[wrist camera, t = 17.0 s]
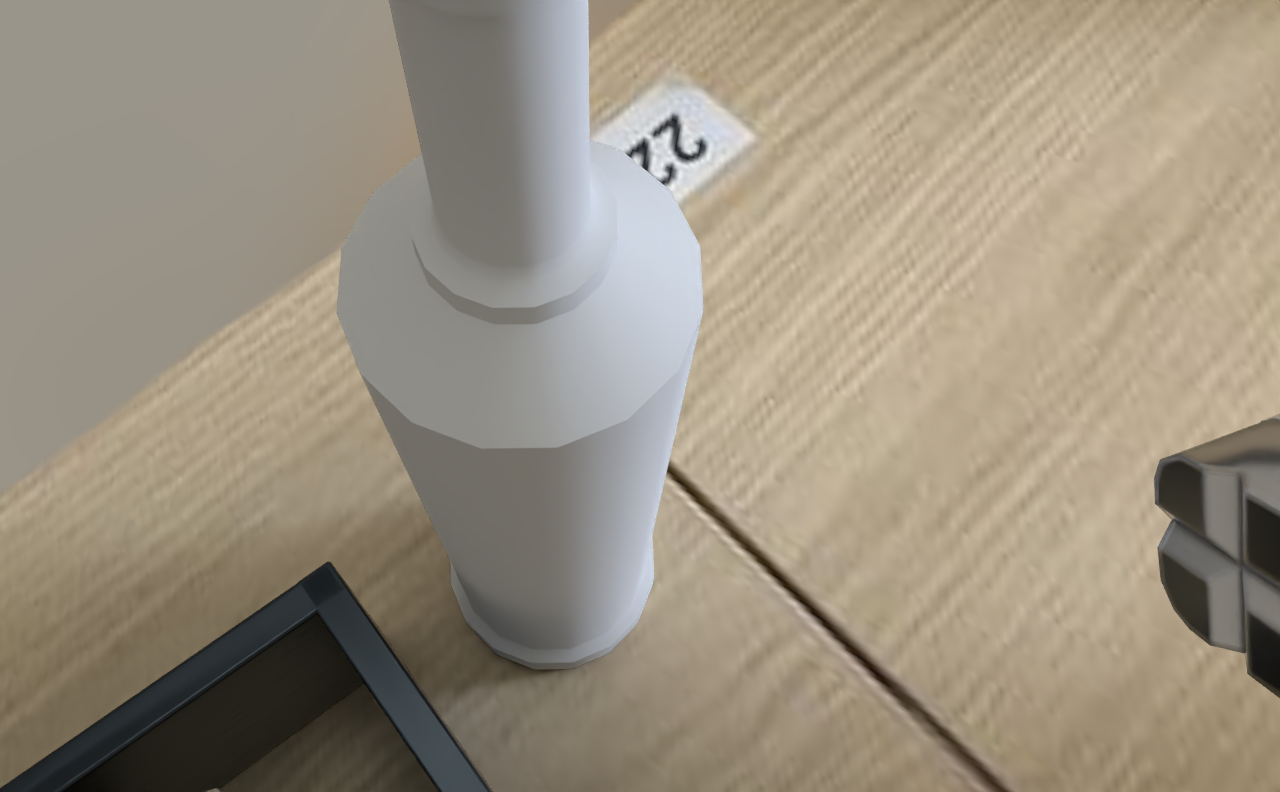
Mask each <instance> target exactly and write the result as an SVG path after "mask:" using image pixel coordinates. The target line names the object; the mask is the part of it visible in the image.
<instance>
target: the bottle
mask: <svg viewBox="0 0 1280 792" xmlns="http://www.w3.org/2000/svg"><path fill="white" fill-rule="evenodd" d="M389 3H390V8H391V13H392V17H393V22H394V27H395V31H396V36H397V41H398V45H399V50H400V54H401V59H402V64H403V68H404V72H405V78H406V82H407V87H408V92H409V96H410V101H411V106H412V110H413V115H414V119H415V124H416V128H417V133H418V138H419V142H420V147H421V152H422V153H421V154H420V155H418V156H417V157H416V158H415V159H414V160H412V161H411V162H410V163H409V164H407V165H406V166H405V167H404V168H402V169H401V170H400V171H399V172H397V173H396V174H395V175H394V176H392V177H391V178H390V179H389V180H388V181H386V182H385V183H384V184H383V185H381V186H380V187H379V188H377V189H376V190H375V191H374V192H373V193H372V195H371V197H370V199H369V200H368V202H367V204H366V206H365V207H364V209H363V211H362V213H361V215H360V216H359V218H358V220H357V222H356V224H355V225H354V227H353V229H352V231H351V233H350V234H349V236H348V238H347V240H346V242H345V243H344V245H343V247H342V249H341V262H340V275H339V288H338V300H337V315H338V317H339V320H340V323H341V325H342V328H343V330H344V333H345V335H346V338H347V340H348V343H349V346H350V348H351V351H352V353H353V356H354V358H355V361H356V363H357V366H358V369H359V371H360V374H361V376H362V378H363V380H364V382H365V384H366V386H367V388H368V390H369V392H370V395H371V397H372V399H373V401H374V403H375V405H376V407H377V409H378V411H379V413H380V416H381V418H382V420H383V422H384V424H385V426H386V428H387V430H388V432H389V434H390V436H391V439H392V441H393V443H394V445H395V447H396V449H397V451H398V453H399V455H400V457H401V459H402V462H403V464H404V466H405V468H406V470H407V472H408V474H409V476H410V478H411V480H412V482H413V485H414V487H415V489H416V491H417V493H418V495H419V497H420V499H421V501H422V503H423V505H424V508H425V510H426V512H427V514H428V516H429V518H430V520H431V522H432V524H433V526H434V529H435V531H436V533H437V535H438V537H439V539H440V541H441V543H442V545H443V547H444V549H445V552H446V554H447V556H448V558H449V560H450V562H451V578H450V583H451V586H452V588H453V591H454V593H455V596H456V598H457V601H458V603H459V606H460V609H461V611H462V614H463V616H464V619H465V621H466V623H467V624H468V626H469V627H470V628H471V629H472V630H473V631H474V632H475V633H476V634H477V635H478V636H479V637H480V638H481V639H482V640H483V641H484V642H485V643H486V644H487V645H488V646H489V647H490V648H491V649H492V650H493V651H494V652H495V653H496V654H497V655H499V656H502V657H504V658H507V659H509V660H512V661H514V662H517V663H519V664H522V665H525V666H527V667H530V668H532V669H574V668H576V667H578V666H581V665H583V664H585V663H587V662H590V661H592V660H594V659H596V658H599V657H601V656H603V655H606V654H608V653H610V652H611V651H612V650H613V649H614V647H615V646H616V645H617V644H618V643H619V642H620V641H621V640H622V639H623V638H624V637H625V636H626V635H627V634H628V633H629V632H630V631H631V630H632V629H633V628H634V627H635V626H636V625H637V623H638V621H639V618H640V616H641V613H642V611H643V608H644V606H645V603H646V600H647V598H648V595H649V593H650V590H651V588H652V585H653V581H654V565H653V540H652V534H653V529H654V525H655V520H656V516H657V512H658V507H659V503H660V498H661V494H662V490H663V485H664V481H665V476H666V472H667V468H668V463H669V459H670V454H671V450H672V446H673V441H674V437H675V432H676V428H677V424H678V419H679V415H680V410H681V406H682V402H683V397H684V393H685V388H686V384H687V380H688V375H689V371H690V366H691V362H692V358H693V353H694V349H695V344H696V340H697V336H698V331H699V327H700V322H701V318H702V314H703V293H702V274H701V255H700V246H699V244H698V242H697V240H696V238H695V236H694V234H693V232H692V230H691V229H690V227H689V225H688V223H687V221H686V219H685V217H684V215H683V213H682V212H681V210H680V208H679V206H678V204H677V202H676V200H675V198H674V196H673V194H672V193H671V191H670V190H669V189H668V188H666V187H665V186H664V185H663V184H662V183H660V182H659V181H658V180H657V179H655V178H654V177H653V176H652V175H651V174H649V173H648V172H647V171H646V170H644V169H643V168H642V167H641V166H640V165H638V164H637V163H636V162H635V161H634V160H632V159H631V158H630V157H629V156H627V155H626V154H625V153H624V152H623V151H621V150H619V149H616V148H614V147H611V146H608V145H605V144H602V143H599V142H596V141H593V140H590V135H589V32H588V31H589V30H588V29H589V28H588V27H589V26H588V25H589V24H588V0H389Z"/></svg>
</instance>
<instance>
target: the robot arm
mask: <svg viewBox="0 0 1280 792" xmlns="http://www.w3.org/2000/svg"><path fill="white" fill-rule="evenodd" d="M1154 487H1155V504H1156V505H1157V506H1158V507H1159V508H1160V509H1161V510H1162V511H1163V512H1164V513H1165V514H1166V515H1167V516H1168V517H1169V518H1170V519H1172V520H1171V522H1170V524H1169V526H1168V528H1167V530H1166V532H1165V534H1164V536H1163V538H1162V540H1161V542H1160V544H1159V546H1158V557H1159V567H1160V577H1161V582H1162V584H1163V586H1164V589H1165V591H1166V593H1167V595H1168V598H1169V600H1170V602H1171V604H1172V607H1173V609H1174V610H1175V612H1176V613H1177V614H1178V615H1179V617H1180V618H1181V619H1182V620H1183V622H1184V623H1185V624H1186V625H1187V627H1188V628H1189V629H1190V630H1191V631H1193V632H1194V633H1195V634H1196V635H1198V636H1199V637H1200V638H1201V639H1203V640H1204V641H1205V642H1206V643H1208V644H1209V645H1211V646H1215V647H1220V648H1224V649H1228V650H1232V651H1236V652H1241V653H1245V660H1246V667H1247V674H1248V675H1250V676H1251V677H1252V678H1254V679H1255V680H1256V681H1258V682H1259V683H1260V684H1262V685H1263V686H1264V687H1266V688H1267V689H1268V690H1270V691H1271V692H1272V693H1274V694H1275V695H1276V696H1278V697H1279V698H1280V414H1278V415H1275V416H1273V417H1270V418H1268V419H1265V420H1262V421H1261V422H1260V423H1258V424H1255V425H1252V426H1250V427H1247V428H1244V429H1241V430H1239V431H1236V432H1233V433H1231V434H1228V435H1225V436H1222V437H1220V438H1217V439H1214V440H1212V441H1209V442H1206V443H1204V444H1201V445H1198V446H1195V447H1193V448H1190V449H1187V450H1185V451H1182V452H1179V453H1176V454H1174V455H1171V456H1168V457H1166V458H1163V459H1160V461H1159V464H1158V467H1157V471H1156V474H1155V477H1154ZM205 792H221V791H220V790H218V789H217V788H215V789H212V790H209V791H205Z"/></svg>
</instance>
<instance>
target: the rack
mask: <svg viewBox="0 0 1280 792" xmlns="http://www.w3.org/2000/svg"><path fill="white" fill-rule="evenodd" d="M363 683H365V685H366V686H367V688H368V689H369V691H370V692H371V694H372V695H373V697H374V698H375V699H376V701H377V702H378V704H379V705H380V707H381V708H382V710H383V711H384V713H385V714H386V715H387V717H388V718H389V720H390V721H391V723H392V724H393V726H394V727H395V729H396V730H397V732H398V733H399V734H400V736H401V737H402V739H403V740H404V742H405V743H406V745H407V746H408V748H409V749H410V751H411V752H412V753H413V755H414V756H415V758H416V759H417V761H418V762H419V764H420V765H421V767H422V768H423V769H424V771H425V772H426V774H427V775H428V777H429V778H430V780H431V781H432V783H433V784H434V786H435V787H436V788H437V790H438V791H439V792H494V791H493V790H492V788H491V787H490V786H489V784H488V783H487V781H486V780H485V778H484V777H483V776H482V774H481V773H480V771H479V770H478V768H477V767H476V766H475V764H474V763H473V761H472V760H471V759H470V757H469V756H468V754H467V753H466V751H465V750H464V749H463V747H462V746H461V744H460V743H459V741H458V740H457V739H456V737H455V736H454V734H453V733H452V731H451V730H450V729H449V727H448V726H447V724H446V723H445V721H444V720H443V719H442V717H441V716H440V714H439V713H438V711H437V710H436V709H435V707H434V706H433V704H432V703H431V701H430V700H429V699H428V697H427V696H426V694H425V693H424V691H423V690H422V689H421V687H420V686H419V684H418V683H417V681H416V680H415V679H414V677H413V676H412V674H411V673H410V671H409V670H408V669H407V667H406V666H405V664H404V663H403V662H402V660H401V659H400V657H399V656H398V654H397V653H396V652H395V650H394V649H393V647H392V646H391V644H390V643H389V642H388V640H387V639H386V637H385V636H384V634H383V633H382V632H381V630H380V629H379V628H378V626H377V625H376V623H375V622H374V621H373V619H372V618H371V617H370V615H369V614H368V613H367V611H366V610H365V608H364V607H363V606H362V604H361V603H360V602H359V600H358V599H357V597H356V596H355V595H354V593H353V592H352V591H351V589H350V588H349V587H348V585H347V584H346V582H345V581H344V580H343V578H342V577H341V576H340V574H339V573H338V571H337V570H336V569H335V567H334V566H333V565H332V563H331V562H327V563H325V564H324V565H322V566H321V567H319V568H318V569H316V570H315V571H313V572H312V573H311V574H309V575H308V576H306V577H305V578H303V579H302V580H300V581H299V582H298V583H297V584H296V585H294V586H293V587H291V588H290V589H288V590H287V591H285V592H284V593H283V594H281V595H280V596H278V597H277V598H275V599H274V600H272V601H271V602H269V603H268V604H267V605H265V606H264V607H262V608H261V609H259V610H258V611H256V612H255V613H254V614H252V615H251V616H249V617H248V618H246V619H245V620H243V621H242V622H240V623H239V624H238V625H236V626H235V627H233V628H232V629H230V630H229V631H227V632H226V633H225V634H223V635H222V636H220V637H219V638H217V639H216V640H214V641H213V642H211V643H210V644H209V645H207V646H206V647H204V648H203V649H201V650H200V651H198V652H197V653H196V654H194V655H193V656H191V657H190V658H188V659H187V660H185V661H184V662H182V663H181V664H180V665H178V666H177V667H175V668H174V669H172V670H171V671H169V672H168V673H167V674H165V675H164V676H162V677H161V678H159V679H158V680H156V681H155V682H153V683H152V684H151V685H149V686H148V687H146V688H145V689H143V690H142V691H140V692H139V693H138V694H136V695H135V696H133V697H132V698H130V699H129V700H127V701H126V702H124V703H123V704H122V705H120V706H119V707H117V708H116V709H114V710H113V711H111V712H110V713H109V714H107V715H106V716H104V717H103V718H101V719H100V720H98V721H97V722H95V723H94V724H93V725H91V726H90V727H88V728H87V729H85V730H84V731H82V732H81V733H80V734H78V735H77V736H75V737H74V738H72V739H71V740H69V741H68V742H67V743H65V744H64V745H62V746H61V747H59V748H58V749H56V750H55V751H53V752H52V753H51V754H49V755H48V756H46V757H45V758H43V759H42V760H40V761H39V762H38V763H36V764H35V765H33V766H32V767H30V768H29V769H27V770H26V771H24V772H23V773H22V774H20V775H19V776H17V777H16V778H14V779H13V780H11V781H10V782H9V783H7V784H6V785H4V786H3V787H1V788H0V792H205V791H209V790H212V789H215V788H217V789H219V788H220V787H221V786H223V785H224V784H225V783H227V782H228V781H230V780H231V779H232V778H234V777H235V776H236V775H238V774H239V773H241V772H242V771H243V770H245V769H246V768H247V767H249V766H250V765H252V764H253V763H254V762H256V761H257V760H258V759H260V758H261V757H263V756H264V755H265V754H267V753H268V752H269V751H271V750H272V749H274V748H275V747H276V746H278V745H279V744H280V743H282V742H283V741H285V740H286V739H287V738H289V737H290V736H291V735H293V734H294V733H296V732H297V731H298V730H300V729H301V728H302V727H304V726H305V725H307V724H308V723H309V722H311V721H312V720H313V719H315V718H316V717H318V716H319V715H320V714H322V713H323V712H324V711H326V710H327V709H329V708H330V707H331V706H333V705H334V704H335V703H337V702H338V701H340V700H341V699H342V698H344V697H345V696H346V695H348V694H349V693H351V692H352V691H353V690H355V689H356V688H357V687H359V686H360V685H362V684H363Z"/></svg>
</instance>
